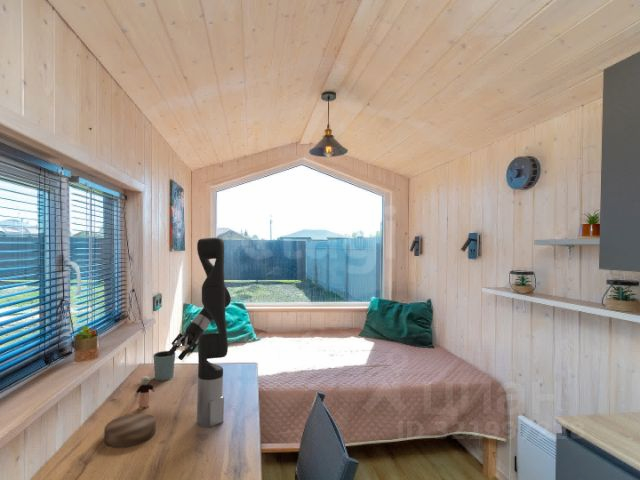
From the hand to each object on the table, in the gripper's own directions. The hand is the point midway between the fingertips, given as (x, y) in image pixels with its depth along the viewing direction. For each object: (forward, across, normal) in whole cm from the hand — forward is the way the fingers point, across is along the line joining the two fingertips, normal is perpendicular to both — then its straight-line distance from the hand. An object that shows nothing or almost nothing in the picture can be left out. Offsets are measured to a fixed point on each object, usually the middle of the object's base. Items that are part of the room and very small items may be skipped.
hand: (174, 356), depth 162 cm
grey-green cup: (+6, -25, +19) cm, 32 cm away
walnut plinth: (+31, +18, -6) cm, 37 cm away
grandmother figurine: (+22, 0, +4) cm, 22 cm away
